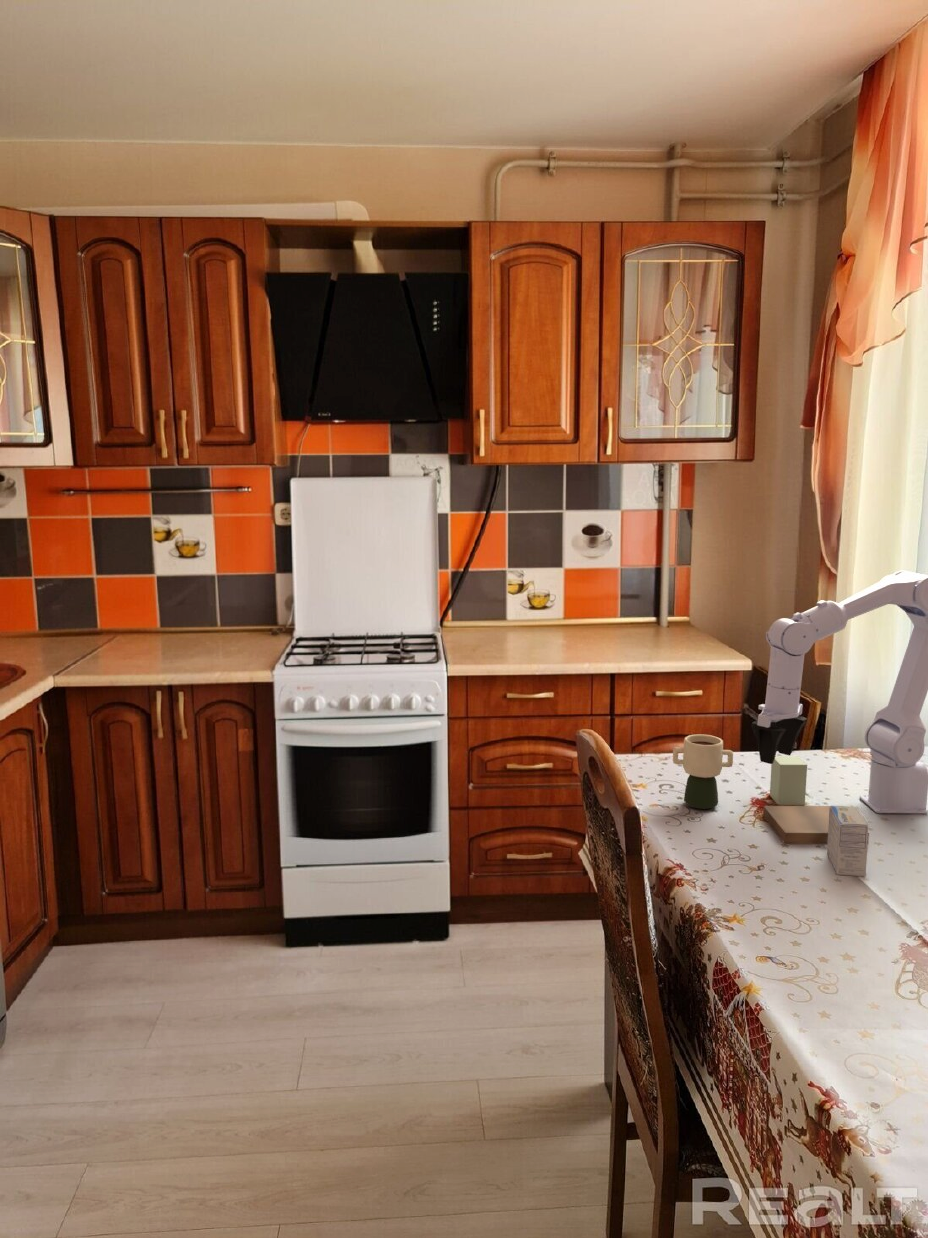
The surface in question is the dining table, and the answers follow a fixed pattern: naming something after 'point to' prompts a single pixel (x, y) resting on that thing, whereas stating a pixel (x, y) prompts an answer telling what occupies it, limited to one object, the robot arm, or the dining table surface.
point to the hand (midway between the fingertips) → (775, 758)
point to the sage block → (788, 780)
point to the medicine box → (847, 840)
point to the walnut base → (799, 823)
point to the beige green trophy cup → (702, 768)
